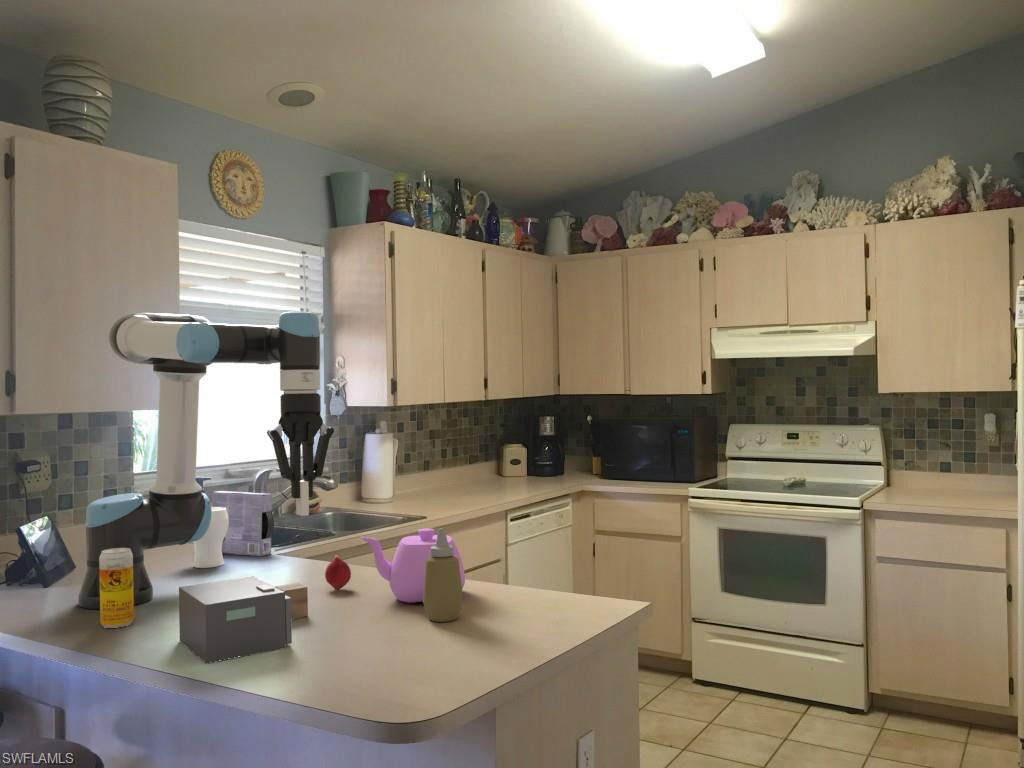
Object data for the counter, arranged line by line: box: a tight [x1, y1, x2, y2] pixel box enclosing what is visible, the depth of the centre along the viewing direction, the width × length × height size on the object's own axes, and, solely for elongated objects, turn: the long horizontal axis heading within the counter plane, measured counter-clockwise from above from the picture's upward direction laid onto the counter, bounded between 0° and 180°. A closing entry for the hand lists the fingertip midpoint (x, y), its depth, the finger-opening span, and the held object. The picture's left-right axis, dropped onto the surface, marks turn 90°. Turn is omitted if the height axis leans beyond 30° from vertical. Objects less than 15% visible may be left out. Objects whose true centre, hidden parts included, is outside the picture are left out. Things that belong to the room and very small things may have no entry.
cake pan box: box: [212, 490, 275, 557], centre depth 245 cm, size 19×5×18 cm, turn 68°
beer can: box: [99, 548, 135, 629], centre depth 171 cm, size 6×6×15 cm
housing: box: [178, 576, 287, 664], centre depth 156 cm, size 17×14×10 cm
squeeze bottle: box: [422, 527, 464, 623], centre depth 171 cm, size 8×8×18 cm
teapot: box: [360, 527, 466, 604], centre depth 190 cm, size 23×21×15 cm
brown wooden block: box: [274, 582, 309, 620], centre depth 175 cm, size 5×5×6 cm
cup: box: [192, 506, 229, 569], centre depth 229 cm, size 11×11×15 cm
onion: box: [324, 555, 352, 591], centre depth 197 cm, size 6×6×8 cm
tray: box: [285, 595, 293, 646], centre depth 157 cm, size 17×14×8 cm
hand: (302, 514), depth 164 cm, fingers closed
